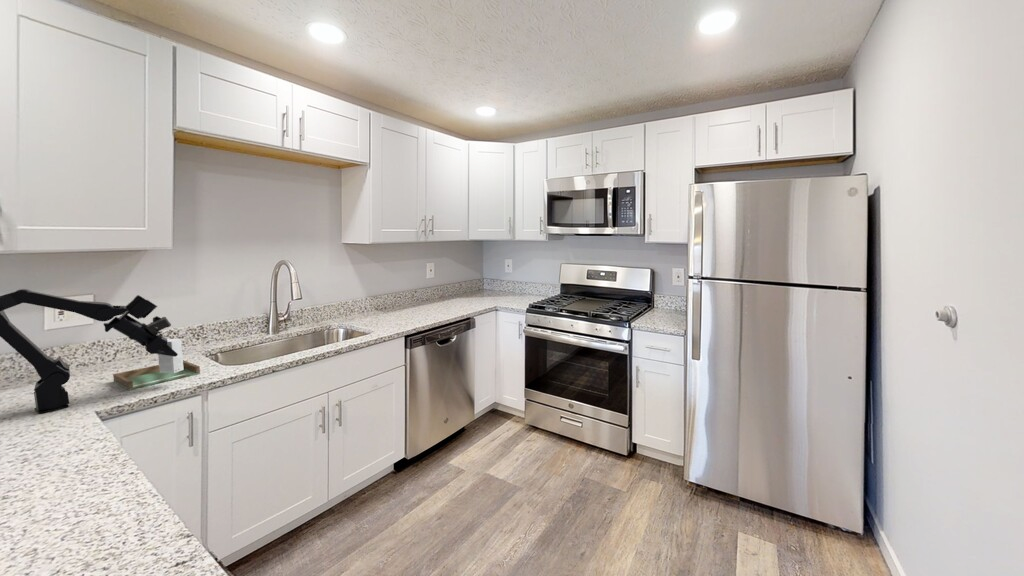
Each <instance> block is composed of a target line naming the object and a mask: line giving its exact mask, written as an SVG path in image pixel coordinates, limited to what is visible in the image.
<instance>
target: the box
mask: <svg viewBox="0 0 1024 576" xmlns="http://www.w3.org/2000/svg"><path fill="white" fill-rule="evenodd" d="M183 368H184V370H182V371H179V372H176V373H160V370H159V364H157V365H151V366H146V367H141V368H136V369H131V370H125V371H122V372H117V373H113V374H112V376H113V377H112V378H113V382H114V383H115V384H117V385H118V386H119V387H122V388H124V389H126V390H128V391H132V390H133V391H134V390H136V389H142V388H146V387H149V386H154V385H158V384H163V383H166V382H167V383H168V382H172V381H176V380H179V379H184V378H189V377H192V376H196V375H200V374H201V368H200V366H199V365H197V364H194V363H192V362H190V361H187V360H185V359H183Z"/></svg>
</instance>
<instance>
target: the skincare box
mask: <svg viewBox="0 0 1024 576" xmlns="http://www.w3.org/2000/svg"><path fill="white" fill-rule="evenodd" d="M166 339H167V345H168V346H169V347H170V348H172V349H173V350H174V351H175V352H176V353H177V354H178V355H177V356H176V357H174V356H168V355H161V354H157V356H158V365H159V370H160V373H176V372H179V371H182V370H184V368H183V360H184V359H183V347H182V345H183V344H182V339H181V338H166Z"/></svg>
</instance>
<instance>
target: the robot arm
mask: <svg viewBox="0 0 1024 576" xmlns="http://www.w3.org/2000/svg"><path fill="white" fill-rule="evenodd" d="M22 304H30V305H33V306H39V307H45V308H48V309H49V308H50V309H55V310H60V311H64V312H65V311H66V312H70V313H71V312H72V313H75V314H78V315H81V316H84V317H86V318H88V319H92V320H95V321H99V322H104V323H103V327H104V331H105V332H106V333H107V332H109V331H111V330H112V329H113V330H116V331H117V332H119V333H121V334H122V335H124V336H126V337H128V339H130V340H133V341H135V342H137V343H138V344H140V346H142V347H144V349H145V351H146V353H147V352H148V353H150V354H151V355H153V354H154V355H155V354H156V355H158V354H161V355H168V356H174V357H176V356H177V355H178V354H177V353H176V352H175V351H174V350H173V349H172V348H170V347H169V346H168V345H167V339H168V338H166V337H164V336H163V333H161V332H160V331H162V330H164V329H166V328H169V327H171V326H172V324H171V322H170V321H169V320H168V318H167V317H166V316H162V317H159V316H157V315H156V316H154V317H152V321H151V322H150V323H148V324H146V323H144V322H143V323H142V322H140V321H138V320H139V319H142V318H143V319H145V318H146V317H148V316H149V315H150V314H151V313H152V312H153V311H154V310H156V309H157V308H158V305H156V304H154V303H153V302H152V301H150V300H149V299H146V298H144V297H142V296H141V295H139V294H137V295H136V296H135V297H134V298H133V299H132V300H131V301H130V302H128V303H127V304H126V305H113V304H111V303H110V302H109V303H108V302H105V301H104V302H102V301H88V300H86V301H85V300H76V299H74V298H73V299H71V298H67V297H62V296H58V295H53V294H47V293H43V292H37V291H34V290H33V291H32V290H31V289H27V288H21V289H20V288H19V289H16V290H15V291H12V292H10V293H6V294H2V295H0V338H1V339H2V340H4V342H6V343H7V344H8V345H9V346H10V347H12V348H13V350H15V351H16V352H17V353H18V354H19V355H21V356H22V357H23V358H24V359H25V360H26V361H27V362H28V363H29V364H31V365H32V366H33V368H34V370H35V372H36V373H37V375H38V376H39V377H40V379H38V380H37V381H36V382H35V385H34V390H33V391H34V392H33V397H34V404H35V407H34V411H36V412H37V413H38V414H40V415H41V414H45V413H50V412H53V411H58V410H62V409H66V408H69V406H70V405H69V404H70V400H69V392H68V391H67V390H66V388H65V387H64V386H63V385H66V383H68V382H69V381H70V376H71V371H70V364H68V363H65V361H64V360H63V359H62V358H61V357H60V356H58V357H57V358H55V359H54V358H53V357H50V356H48V355H47V354H46V353H45V352H44V351H43V350H42V349H40V347H38V346H37V344H35V343H34V342H33V341H32V340H31V339H30V338H28V336H26V334H24V333H23V332H22V331H21V330H20V329H19V328H17V327H16V326H15V325H14V324H13V323H12V322H11V320H10V319H9V317H8V316H7V314H6V312H5V310H8V309H10V308H13V307H16V306H18V305H22ZM118 316H119V317H118ZM131 316H132V317H131ZM133 317H134V318H135V319H134V318H133ZM136 319H138V320H136ZM108 321H109V322H108Z"/></svg>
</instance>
